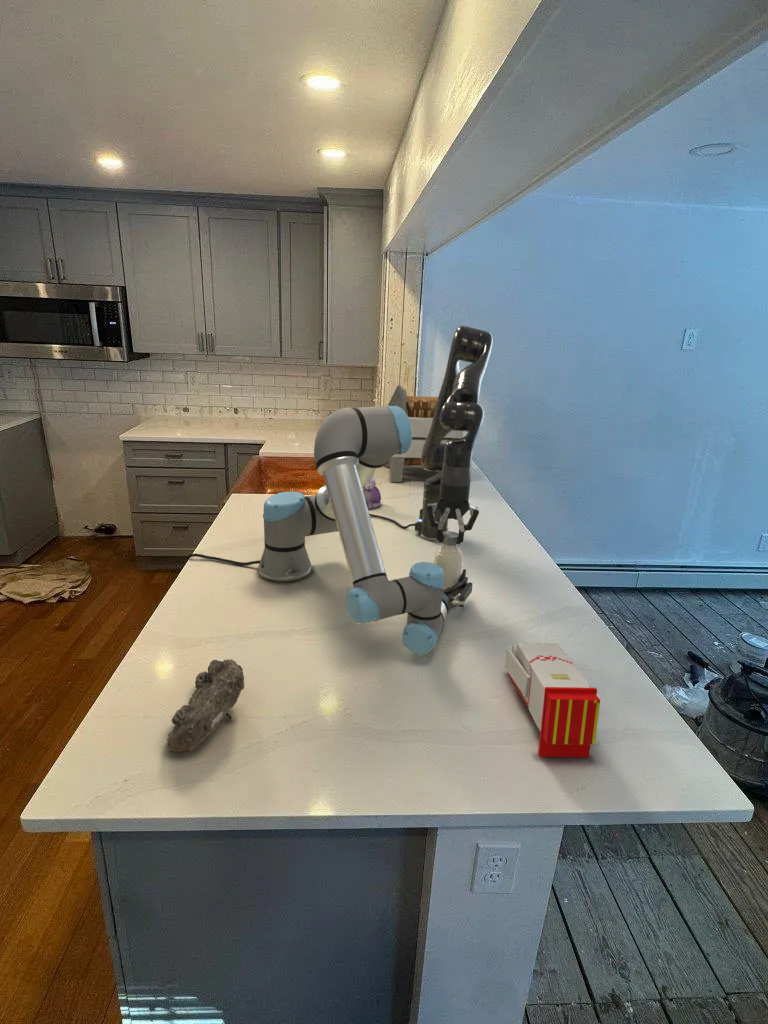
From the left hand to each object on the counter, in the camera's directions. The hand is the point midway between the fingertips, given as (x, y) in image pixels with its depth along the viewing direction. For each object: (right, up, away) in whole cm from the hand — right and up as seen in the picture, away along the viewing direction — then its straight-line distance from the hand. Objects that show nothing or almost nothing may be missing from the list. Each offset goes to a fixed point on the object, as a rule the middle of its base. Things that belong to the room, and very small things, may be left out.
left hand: (449, 571), depth 158 cm
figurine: (-24, +19, +69) cm, 75 cm away
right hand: (-1, +8, -8) cm, 12 cm away
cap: (-1, +10, -9) cm, 14 cm away
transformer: (-1, +35, +117) cm, 122 cm away
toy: (+13, -23, -43) cm, 51 cm away
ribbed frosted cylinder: (-2, -8, -2) cm, 8 cm away
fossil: (-51, -23, -50) cm, 75 cm away
